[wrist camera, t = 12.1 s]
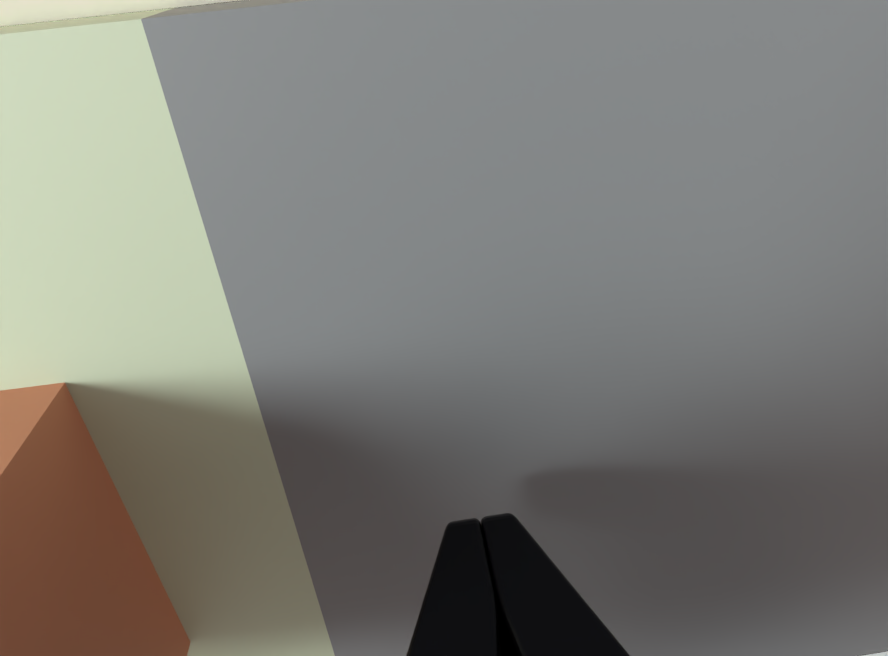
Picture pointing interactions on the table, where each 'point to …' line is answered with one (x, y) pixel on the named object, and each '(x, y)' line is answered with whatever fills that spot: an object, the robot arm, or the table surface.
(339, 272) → the board
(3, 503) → the cream block
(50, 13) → the table surface
